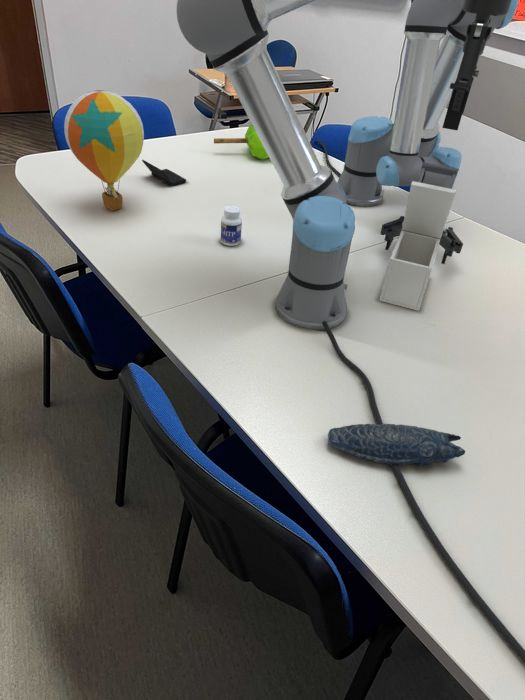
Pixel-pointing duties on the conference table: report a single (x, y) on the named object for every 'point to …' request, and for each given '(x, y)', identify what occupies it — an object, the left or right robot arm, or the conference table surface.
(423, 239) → the chest
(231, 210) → the pill bottle
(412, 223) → the lid
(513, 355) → the conference table surface
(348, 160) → the right robot arm
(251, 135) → the decorative tree
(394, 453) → the fish model
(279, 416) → the conference table surface
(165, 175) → the black block with spike
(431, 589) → the conference table surface
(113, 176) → the toy
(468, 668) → the conference table surface
